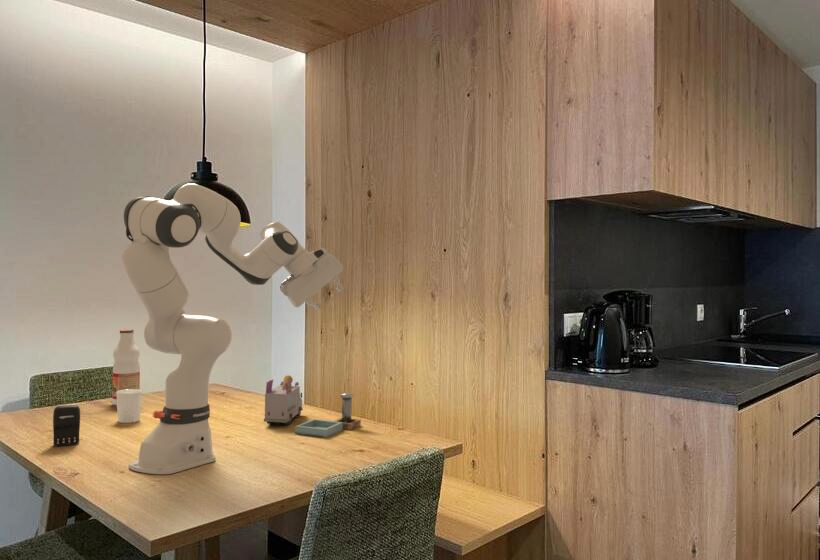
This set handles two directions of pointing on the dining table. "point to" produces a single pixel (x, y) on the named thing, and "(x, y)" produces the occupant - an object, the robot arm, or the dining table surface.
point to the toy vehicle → (282, 402)
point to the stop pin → (346, 407)
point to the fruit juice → (125, 364)
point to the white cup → (129, 405)
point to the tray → (319, 428)
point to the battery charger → (66, 425)
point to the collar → (350, 424)
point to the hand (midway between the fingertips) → (330, 299)
